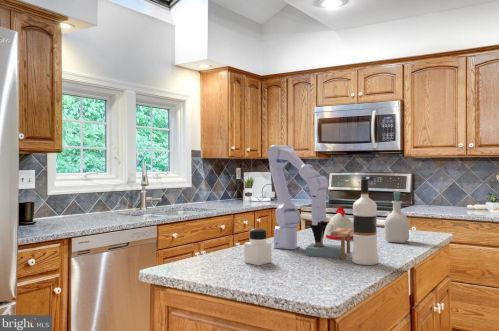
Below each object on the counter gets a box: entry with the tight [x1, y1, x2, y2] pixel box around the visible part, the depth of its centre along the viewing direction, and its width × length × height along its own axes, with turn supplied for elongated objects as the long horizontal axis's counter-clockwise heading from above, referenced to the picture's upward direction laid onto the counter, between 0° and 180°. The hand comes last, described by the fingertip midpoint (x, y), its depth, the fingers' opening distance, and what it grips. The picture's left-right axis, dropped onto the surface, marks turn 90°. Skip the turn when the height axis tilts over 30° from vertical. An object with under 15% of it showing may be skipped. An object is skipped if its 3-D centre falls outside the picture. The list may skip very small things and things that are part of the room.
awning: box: [330, 228, 352, 260], centre depth 167 cm, size 6×14×10 cm, turn 158°
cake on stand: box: [325, 206, 354, 241], centre depth 208 cm, size 14×14×15 cm
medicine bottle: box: [243, 228, 272, 266], centre depth 156 cm, size 7×7×12 cm
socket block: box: [305, 242, 341, 259], centre depth 169 cm, size 13×10×3 cm
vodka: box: [351, 178, 380, 266], centre depth 154 cm, size 9×9×30 cm
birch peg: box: [314, 232, 324, 247], centre depth 170 cm, size 3×3×8 cm
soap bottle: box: [384, 191, 410, 244], centre depth 196 cm, size 10×10×23 cm
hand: (318, 241), depth 170 cm, fingers closed on birch peg, 3 cm apart
